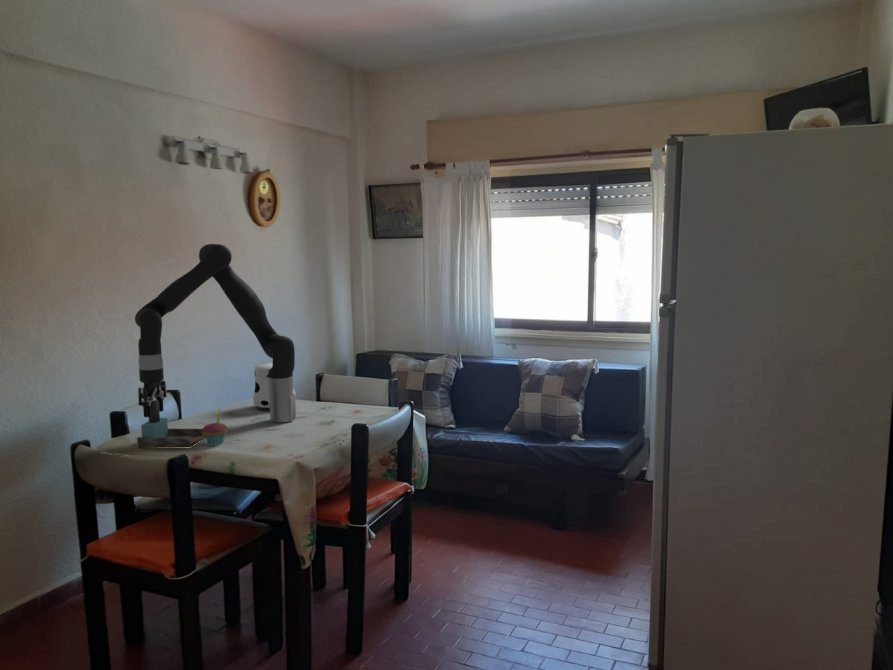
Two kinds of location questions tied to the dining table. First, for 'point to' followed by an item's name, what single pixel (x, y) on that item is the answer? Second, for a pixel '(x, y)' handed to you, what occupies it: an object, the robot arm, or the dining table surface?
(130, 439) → the dining table surface
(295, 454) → the dining table surface
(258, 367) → the milk container
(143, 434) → the press jaw
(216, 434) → the cupcake
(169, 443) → the press base
